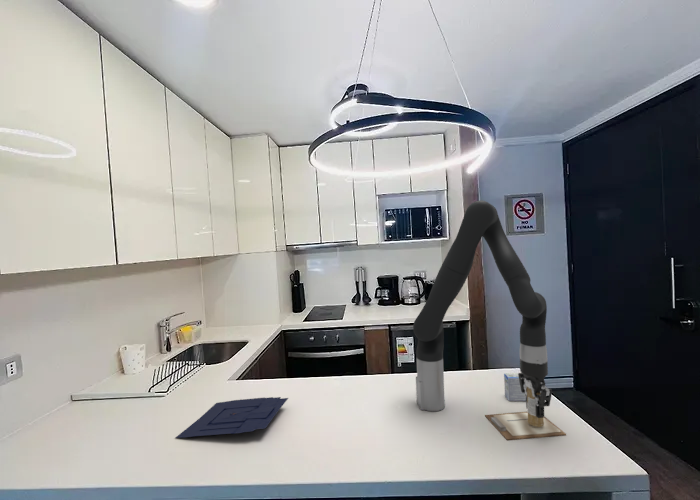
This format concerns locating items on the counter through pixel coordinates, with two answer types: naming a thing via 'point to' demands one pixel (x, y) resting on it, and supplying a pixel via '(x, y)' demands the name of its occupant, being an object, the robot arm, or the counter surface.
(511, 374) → the medicine box
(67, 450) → the counter surface
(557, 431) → the clipboard
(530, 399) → the sprinkles bottle
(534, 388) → the robot arm
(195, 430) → the navy blue folded cloth
